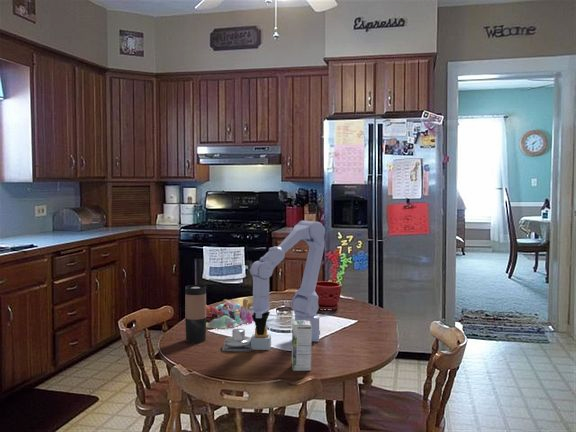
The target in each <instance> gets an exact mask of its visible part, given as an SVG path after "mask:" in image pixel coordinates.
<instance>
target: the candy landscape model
mask: <svg viewBox="0 0 576 432" xmlns="http://www.w3.org/2000/svg"><path fill="white" fill-rule="evenodd" d="M248 302H249V298H243V299H242V305H241V304H240V303H238V302H236V301H233V300H232V301H231V300H229V299H223V300H222V303H221V304H218V305H217V306H213V305H212V306H210V305H207V304H206V329H212V328H214V330H217V329H216V328H219V330H225V328H230V329H235V328H234V327H237V328H238V327H240V326H242V325H241V324H246V325H248V324H247V323H250V324H252V323H253V322H254V320H253V318H252V315H253V314H254V311H253V310H250V307H253V301H252V302H249V303H248ZM252 321H253V322H252Z"/></svg>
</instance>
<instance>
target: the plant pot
mask: <svg viewBox="0 0 576 432" xmlns="http://www.w3.org/2000/svg"><path fill="white" fill-rule="evenodd" d="M315 292H316V294H317V295H318V297H319V298H318V308H319V309H326V310H328V309H335V310H337V309H338V308H339V301H340V299H341V293H342V284H341V283H338V282H336V281H329V280H328V281H327V280H326V281H325V280H323V281H321V280H319V281H317V284H316V288H315ZM336 308H337V309H336ZM319 309H318V310H319Z"/></svg>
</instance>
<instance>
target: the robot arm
mask: <svg viewBox="0 0 576 432" xmlns="http://www.w3.org/2000/svg"><path fill="white" fill-rule="evenodd" d="M325 233H326V228H325V226H324V225H323V224H322V223H321V222H320V221H311V220H310V221H309V220H300V221H299V222H297V224H296V225H294V227H293V229H292V231H291V232H290V233H289V234H288V235H287V236H286V237H285V238H284V240H282V241H281V242H280V244H279V245H278V246H273V247H269V248H268V251H267V252H266V253H265V254H264V255H263V256H261V257H260V258H259V260H256V261H254V262H252V264H251V266H250V268H249V273H250V275H251V277H252V302H253V305H252V307H250V310H253V311H254V314H253V315H252V318H253V320H254V321H253V323H254V326H255V328H256V330H257V334H258V335H263V334H264V330H265V327H267V321H268V318H269V315H270V314H271V312H270V310H271V309H270V308H271V307H270V277H272V275H273V272H274V270H275V268H276V267H277V266H278V265H279V264H280V263H281V262H283V260H284V259H285V257H286V256H285V255H286V253H287V252H288V251H289V250H291V248H293V247H294V246H295V245H296V244H297V243H298V242H300V241H304V242H306V244H307V246H308V247H309V248H308V253H307V257H306V262H305V265H304V266H305V267H304V271H303V275H302V280H301V284H300V288H298V289H297V290H296V291H295V293H294V296H293V298H292V299H291V302H290V304H291V305H290V307H291V309H292V311H293V313H294V314H293V315H294V321H296V320H305V321H310V323H311V325H312V342H320V336H321V330H320V315H317V313H318V311H319V309H318V298H319V297H318V295H317V294H316V292H315V288H316V284H317V282H318V280H319V279H318V278H319V274H320V269H321V265H322V260H323V255H324V251H325V247H326V245H325V243H326V242H325ZM253 311H252V312H253Z"/></svg>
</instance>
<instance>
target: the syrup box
mask: <svg viewBox="0 0 576 432" xmlns="http://www.w3.org/2000/svg"><path fill="white" fill-rule="evenodd" d="M291 328H292V331H291V332H292V335H291V367H292V371H293V372H300V371H301V372H302V371H303V372H305V371H307V372H308V371H312V344H313V341H312V325H311V323H310V321H305V320H296V321H295V320H292V327H291Z"/></svg>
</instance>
